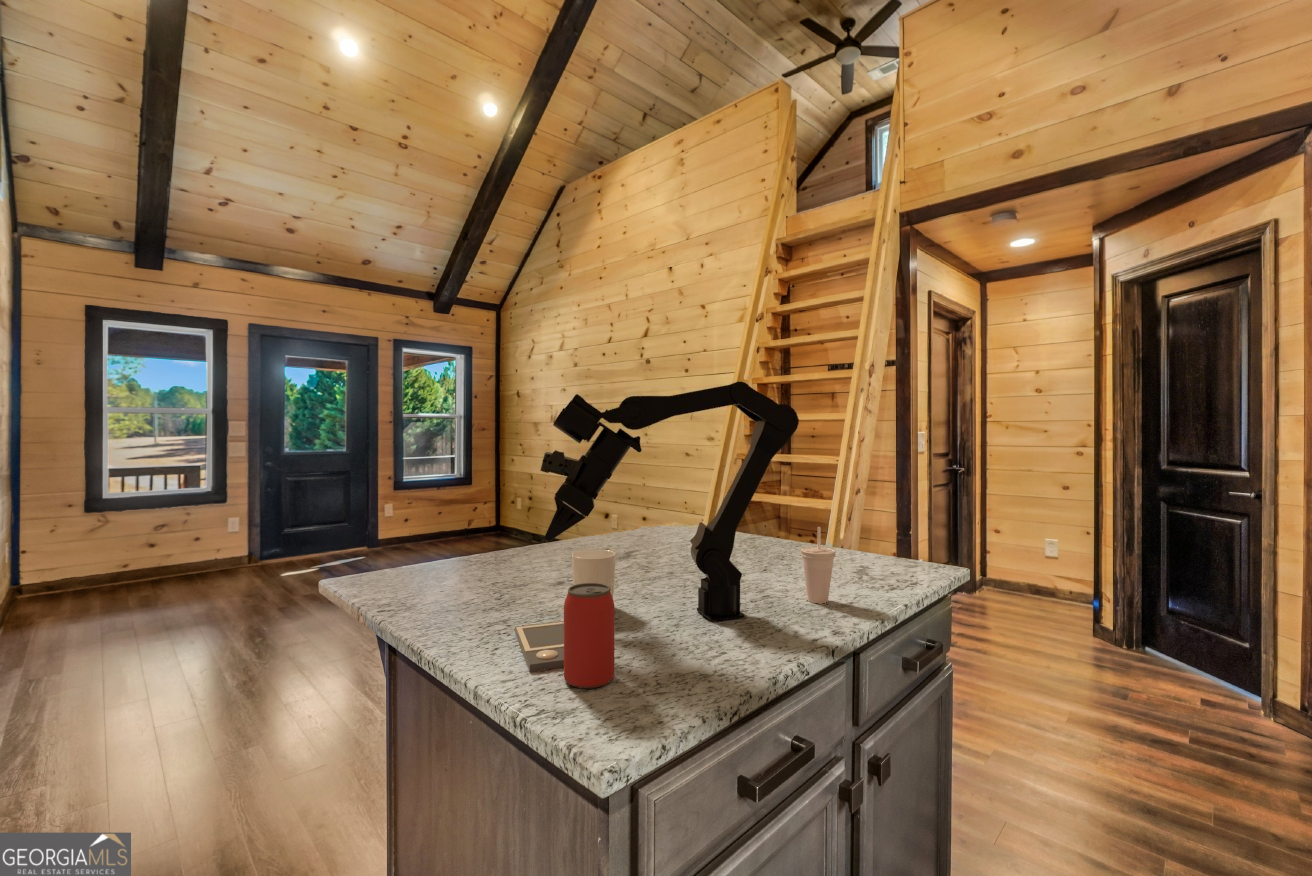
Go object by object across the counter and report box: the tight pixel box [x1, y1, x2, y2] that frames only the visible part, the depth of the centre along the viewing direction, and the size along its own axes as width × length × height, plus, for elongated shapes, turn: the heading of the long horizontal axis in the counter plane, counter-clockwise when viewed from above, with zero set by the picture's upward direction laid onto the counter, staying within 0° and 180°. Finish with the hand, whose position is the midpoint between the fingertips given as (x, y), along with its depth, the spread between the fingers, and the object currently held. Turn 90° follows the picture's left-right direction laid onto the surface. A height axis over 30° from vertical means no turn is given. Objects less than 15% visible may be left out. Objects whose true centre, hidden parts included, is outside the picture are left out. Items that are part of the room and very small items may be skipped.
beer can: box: [563, 583, 615, 690], centre depth 77 cm, size 7×7×12 cm
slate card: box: [514, 620, 564, 673], centre depth 89 cm, size 10×16×1 cm, turn 20°
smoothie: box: [800, 526, 837, 605], centre depth 112 cm, size 6×6×14 cm
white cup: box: [571, 548, 617, 599], centre depth 107 cm, size 8×8×10 cm
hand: (549, 534), depth 101 cm, fingers open, 9 cm apart
